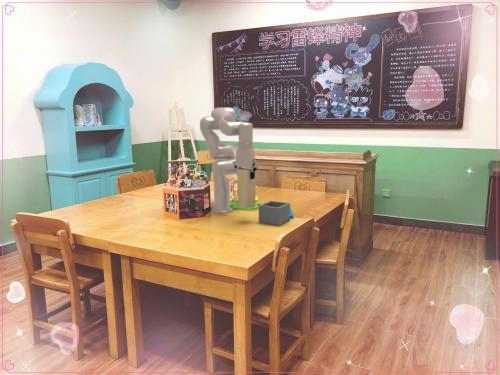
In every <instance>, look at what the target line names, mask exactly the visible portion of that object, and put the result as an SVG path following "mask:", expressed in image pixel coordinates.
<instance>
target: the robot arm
mask: <svg viewBox="0 0 500 375" xmlns="http://www.w3.org/2000/svg"><path fill="white" fill-rule="evenodd" d="M236 118H237V113H236V111H235V109H233V108H232V107H215V108H214V109H212V111H211V114H210V116H209V115H208V116H203V117H201V119H200V121H199V130H200V132H201V134H202V137H203V139H204V140H205V143H206V146H207V149H208V152H209V155H210V157H211V159H212V160H214V161H213V162H212V163H211V170H212V177H213V195H214V200H213V201H214V202H211V203H210V204H211V206H210V207H211V208H212V209H211V210H212V213H216V214H227V213H232V212H233V210H234V208H232V207H231V199H230V198H231V196H230V194H231V193H230V192H231V191H230V188H231V187H230V186H231V185H230V181H229V179H228V178H227V176H231V175H237V170H238V169H242V168H250V170H251V173H250V179H254V178H255V179H256V172H257V170H258V168H259V167H260V163H258V162H257V161H256V154H255V149H254V144H253V143H254V139H253V137H254V136H253V133H254V131H253V130H254V129H253V128H254V126H253V123H252V122H246V121H235V119H236ZM214 131H220V132H221V133H222V134H223V135H225V136H227V137H233V136H235V137H237V136H238V143H237V144H236V146H237V147H238V148H235V147H234V146H233V145H232V143H222V142H221V139H220V137H219V136H218V134H217V133H216V132H214Z"/></svg>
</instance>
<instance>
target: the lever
mask: <svg viewBox="0 0 500 375" xmlns="http://www.w3.org/2000/svg"><path fill="white" fill-rule="evenodd" d="M292 219H294V213H293V209H292V207H291V206H290V220H292Z"/></svg>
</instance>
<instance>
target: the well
mask: <svg viewBox="0 0 500 375" xmlns="http://www.w3.org/2000/svg"><path fill="white" fill-rule="evenodd" d="M290 207H291V203H290V202H283V201H275V200H269V201H266V202H264V203H261V204H260V205H258V224H262V225H267V226H275V227H281V226H282V225H284V224H286V223H288V222H289V221H291V219H290Z"/></svg>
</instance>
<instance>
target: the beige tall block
mask: <svg viewBox="0 0 500 375" xmlns="http://www.w3.org/2000/svg"><path fill="white" fill-rule="evenodd" d="M250 173H251V170H250V168H245V167H241V169H238V170H237V174H236V178H237V180H236V181H237V182H236V183H237V184H236V185H237V207H238V208H241V209H246V210H247V209H250V208H253V207H256V177H255V178H254V179H250Z"/></svg>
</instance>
